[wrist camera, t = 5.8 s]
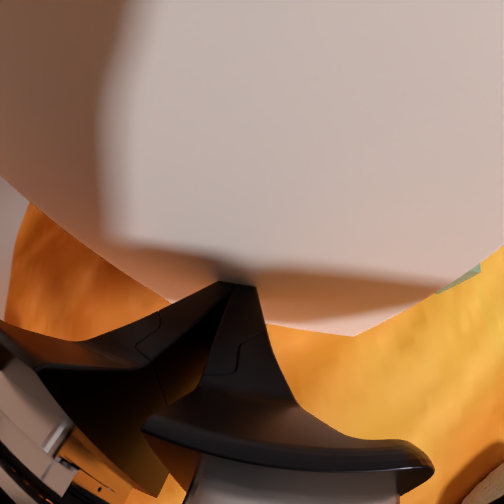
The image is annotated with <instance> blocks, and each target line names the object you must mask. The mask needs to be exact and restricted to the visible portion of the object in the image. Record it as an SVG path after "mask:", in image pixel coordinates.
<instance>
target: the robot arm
mask: <svg viewBox="0 0 504 504" xmlns="http://www.w3.org/2000/svg"><path fill="white" fill-rule="evenodd" d="M434 471H435V468H434V466H433V464H432V462H431V460H430V459H429V457H428V456H427V455H426V454H425V453H424V452H423V451H422V450H420V449H419V448H418V447H416V446H415V445H413V444H412V443H410V442H408V441H405V440H399V439H386V440H364V439H358V438H353V437H350V436H347V435H344V434H342V433H340V432H338V431H337V430H335V429H333V428H332V427H330V426H329V425H327V424H325V423H324V422H322V421H321V420H319V419H318V418H316V417H314V416H313V415H311V414H310V413H308V412H307V411H305V410H304V409H303V408H302V407H301V406H300V405H299V404H298V402H297V401H296V399H295V398H294V396H293V394H292V392H291V390H290V388H289V386H288V384H287V381H286V379H285V377H284V375H283V373H282V371H281V369H280V367H279V365H278V362H277V360H276V358H275V355H274V353H273V350H272V347H271V343H270V340H269V336H268V333H267V328H266V324H265V320H264V316H263V312H262V308H261V304H260V299H259V295H258V291H257V287H253V286H247V285H241V284H235V283H229V282H224V281H217V282H215V283H213V284H211V285H209V286H207V287H205V288H203V289H201V290H199V291H197V292H195V293H193V294H191V295H189V296H187V297H185V298H183V299H181V300H179V301H177V302H175V303H173V304H171V305H169V306H167V307H165V308H163V309H161V310H159V311H157V312H155V313H153V314H151V315H148V316H146V317H144V318H142V319H140V320H138V321H135V322H133V323H131V324H128V325H126V326H123V327H121V328H118V329H115V330H113V331H110V332H107V333H105V334H102V335H100V336H97V337H94V338H91V339H88V340H85V341H77V342H74V341H66V340H62V339H58V338H54V337H50V336H46V335H42V334H39V333H35V332H31V331H28V330H25V329H21V328H18V327H15V326H13V325H10V324H8V323H5V322H3V321H2V320H0V504H51V503H49V502H48V501H46V498H47V499H49V500H50V501H51V502H52V503H53V504H124V503H125V502H126V500H127V498H128V496H129V494H130V492H131V490H132V488H135V489H137V490H139V491H141V492H144V493H146V494H148V495H151V496H153V497H155V498H157V497H158V495H159V493H160V491H161V489H162V487H163V485H164V483H165V481H166V479H167V477H168V474H169V473H170V474H171V475H172V476H173V477H174V479H175V480H176V481H177V482H178V483H179V485H180V486H181V487H182V488H183V489H184V490H185V491H186V492H187V494H186V496H185V499H184V501H183V503H182V504H400V496H402V495H403V494H405V493H407V492H409V491H411V490H412V489H414V488H416V487H417V486H419V485H421V484H422V483H424V482H425V481H427V480H428V479H429V478H431V477H432V475H433V474H434ZM488 504H504V495H502V496H501V497H499V498H497V499H496V500H494V501H492V502H490V503H488Z"/></svg>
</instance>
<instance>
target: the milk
mask: <svg viewBox="0 0 504 504" xmlns="http://www.w3.org/2000/svg"><path fill="white" fill-rule="evenodd" d="M0 175H1V176H2V177H3V178H4V179H5V180H6V181H7V182H8V183H9V184H10V185H12V186H13V187H14V188H15V189H16V190H17V191H18V192H19V193H20V194H22V195H23V196H24V197H25V198H26V199H27V200H28V201H30V202H31V203H32V204H33V205H34V206H35V207H37V208H38V209H39V210H40V211H41V212H43V213H44V214H45V215H46V216H48V217H49V218H50V219H51V220H52V221H54V222H55V223H56V224H57V225H59V226H60V227H61V228H63V229H64V230H65V231H66V232H68V233H69V234H70V235H72V236H73V237H74V238H76V239H77V240H78V241H80V242H81V243H82V244H84V245H85V246H86V247H88V248H89V249H91V250H92V251H93V252H95V253H96V254H97V255H99V256H100V257H102V258H103V259H105V260H106V261H107V262H109V263H110V264H112V265H113V266H115V267H116V268H118V269H119V270H121V271H122V272H124V273H125V274H127V275H128V276H130V277H131V278H133V279H134V280H136V281H137V282H139V283H140V284H142V285H143V286H145V287H147V288H148V289H150V290H151V291H153V292H154V293H156V294H158V295H159V296H161V297H163V298H164V299H166V300H167V301H169V302H171V303H175V302H177V301H179V300H181V299H183V298H185V297H187V296H189V295H191V294H193V293H195V292H197V291H199V290H201V289H203V288H205V287H207V286H209V285H211V284H213V283H215V282H217V281H224V282H229V283H235V284H241V285H247V286H253V287H257V291H258V295H259V299H260V304H261V308H262V312H263V316H264V320H265V323H266V324H272V325H278V326H283V327H289V328H296V329H302V330H308V331H315V332H322V333H329V334H336V335H344V336H352V337H354V336H356V335H358V334H360V333H362V332H364V331H366V330H368V329H370V328H372V327H374V326H376V325H378V324H380V323H382V322H384V321H386V320H388V319H390V318H392V317H394V316H396V315H398V314H399V313H401V312H403V311H405V310H407V309H408V308H410V307H412V306H414V305H416V304H417V303H419V302H421V301H422V300H424V299H426V298H428V297H429V296H431V295H433V294H434V293H436V292H437V291H439V290H441V289H442V288H444V287H445V286H447V285H449V284H450V283H452V282H453V281H455V280H456V279H458V278H459V277H461V276H462V275H464V274H465V273H467V272H468V271H469V270H471V269H472V268H474V267H475V266H477V265H478V264H479V263H481V262H482V261H483V260H485V259H486V258H488V257H489V256H490V255H491V254H493V253H494V252H495V251H497V250H498V249H499V248H501V247H502V246H503V245H504V0H0Z"/></svg>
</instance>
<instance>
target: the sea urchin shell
mask: <svg viewBox="0 0 504 504" xmlns="http://www.w3.org/2000/svg"><path fill="white" fill-rule="evenodd" d="M502 495H504V462H503V463H501V464H500V465H499V466H498V467H497V468H496V469H494V470H493V471H491V472H490V473H489V474H488V476H487V477H486V478H485V479H484V480H482V481H481V482H480V483H479V484H477V485H476V487H475V488H474V489H473V490H472V491H471V492H470V493H469V494H468V495H467V496H466V497H465V498H464V500H463V501H462V503H461V504H488V503H490V502H492V501H494V500H496V499H497V498H499V497H501V496H502Z"/></svg>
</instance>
